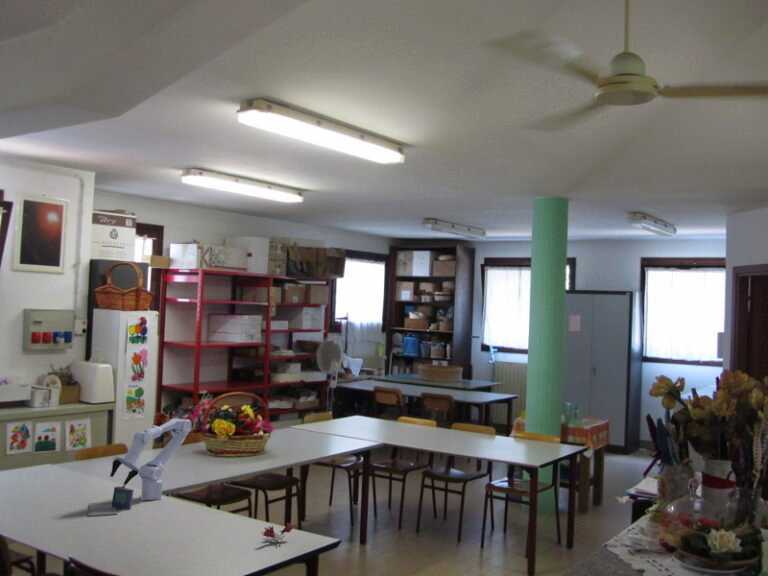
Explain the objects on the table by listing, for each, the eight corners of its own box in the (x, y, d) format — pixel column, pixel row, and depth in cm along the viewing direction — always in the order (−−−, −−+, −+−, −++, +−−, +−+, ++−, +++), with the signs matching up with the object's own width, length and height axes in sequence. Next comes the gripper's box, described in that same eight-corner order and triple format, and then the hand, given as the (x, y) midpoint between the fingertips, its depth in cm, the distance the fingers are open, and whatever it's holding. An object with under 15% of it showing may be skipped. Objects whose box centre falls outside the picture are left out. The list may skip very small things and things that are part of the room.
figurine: (282, 533, 307) (283, 518, 307) (298, 541, 298) (298, 525, 298) (251, 540, 297) (252, 524, 297) (267, 548, 288) (268, 531, 288)
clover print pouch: (131, 508, 336) (135, 485, 337) (129, 509, 334) (132, 486, 334) (112, 505, 337) (115, 482, 338) (110, 506, 334) (113, 483, 335)
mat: (116, 502, 344) (116, 501, 344) (116, 514, 325) (116, 513, 325) (89, 504, 340) (89, 503, 340) (88, 516, 321) (88, 515, 321)
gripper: (124, 446, 339) (108, 472, 331) (149, 461, 345) (134, 487, 338) (117, 447, 344) (102, 473, 336) (142, 462, 350) (127, 487, 343)
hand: (118, 480), depth 337 cm, fingers open, 7 cm apart
